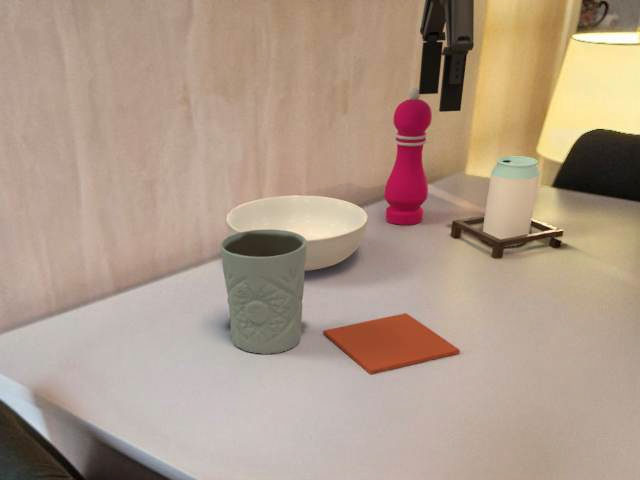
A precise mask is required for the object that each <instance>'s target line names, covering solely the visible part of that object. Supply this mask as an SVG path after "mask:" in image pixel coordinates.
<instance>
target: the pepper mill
mask: <svg viewBox="0 0 640 480" xmlns="http://www.w3.org/2000/svg"><path fill="white" fill-rule="evenodd" d="M420 97H421V94H419V88H418V87H414V88H411V89H410V90H409V93H408V98H409V99H406V100H404V101H402V102H400V104H398V105H397V106H396V108H395V110H394V113H393V126H394V127H395V129H396V130H397V132H396V133H395V140H394V143H395V144H396V157H395V161H394V165H393V167H392V170H391V172H390V173H389V174H390V175H389V176H388V179H387V180H386V184H385V188H384V193H383V195H384V199H385V201H386V203H387V204H388V206H387V207H386V209H385V221H386V222H388V223H390V224H393V225H396V226H397V225H398V226H411V225H416V224H419V223H421V222H422V221H423V218H424V217H423V216H424V208H423V207H422V205H423V204H424V203H425V202H426V200H427V199H428V196H429V185H428V179H427V177H426V173H425V169H424V165H423V163H424V162H423V150H424V145H425V144H426V143H427V137H428V134H427V133H426V131H427V130H428V128H429V127H430V126H431V124H432V119H433V112H432V108H431V106H430V105H429V104H428V102H426V101H424V100H422V99H420Z"/></svg>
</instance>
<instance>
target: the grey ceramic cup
mask: <svg viewBox="0 0 640 480" xmlns="http://www.w3.org/2000/svg"><path fill="white" fill-rule="evenodd" d="M219 249H220V258H221V262H222V269H223V278H224V281H225V282H224V283H225V288H226V293H227V304H228V310H229V311H228V312H229V316H230V331H231V340H232V343H233V342H234V343H233V345H234V344H235V345H236V346H235V345H234V346H235V347H236V348H237V347H239V348H241V349H243V350H242V351H244V350H245V351H244V352H246V351H250V352H254V353H253V354H255V353H261V354H260V355H272V354H271V353H275V354H280V353H279V352H281V353H284V352H283V351H285V352H287V350H288V351H290V350H292V349H294V348H295V347H297V345H298V344H300V341H301V338H302V319H303V298H304V291H305V290H304V289H305V272H306V271H305V261H306V249H307V241H306V239H305V238H304V237H303V236H301V235H300V234H297V233H294V232H290V231H284V230H271V229H267V230H252V231H245V232H240V233H236V234H233V235H231V236H227V237H225V238H223V240H222V241H221V242H220V244H219ZM293 347H294V348H293ZM239 348H238V349H239ZM291 348H292V349H291ZM241 349H240V350H241ZM250 352H249V353H250Z"/></svg>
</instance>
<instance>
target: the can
mask: <svg viewBox="0 0 640 480" xmlns="http://www.w3.org/2000/svg"><path fill="white" fill-rule="evenodd" d="M538 163H539V161H538V160H537V159H536V158H533V157H530V156H523V155H509V156H508V155H507V156H502V157H499V158H498V159H497V160H496V164H495V165H494V167H493V168H492V170H491V172H490V177H489V185H488V191H487V198H486V204H485V212H484V215H485V218H484V222H483V226H482V231H483V232H485V233H487V234H490V235H492V236H494V237H496V238H498V239H506V238H511V237H516V236H522V235H527V234H530V231H531V227H532V226H531V220H532V218H533V214H534V209H535V203H536V199H537V193H538V187H539V182H540V178H541V171H540V169H539V167H538ZM520 244H521V245H522V244H523V243H519V244H514V245H509V247H508V246H506V247H505V248H513V247H512V246H515V247H518V246H517V245H519V246H521V245H520ZM510 246H511V247H510Z"/></svg>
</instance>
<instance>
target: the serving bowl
mask: <svg viewBox="0 0 640 480" xmlns="http://www.w3.org/2000/svg"><path fill="white" fill-rule="evenodd" d="M368 220H369V217H368V214H367V212H366V211H365V210H364V209H363V208H362V207H360V206H358V205H356V204H355V203H352V202H349V201H347V200H343V199H339V198H334V197H328V196H319V195H281V196H272V197H271V196H270V197H264V198H259V199H255V200H250V201H247V202H245V203H241V204H239V205H238V206H236V207H234V208H232V209H231V210H230V211H229V212H228V213H227V216H226V221H225V222H226V227H227V232H228V235H229V236H231V235H233V234H236V233H240V232H245V231H252V230H267V229H271V230H284V231H290V232H294V233H297V234H300V235H301V236H303V237H304V238H305V239H306V241H307V249H306V261H305V271H304V272H306V271H307V272H308V271H316V270H321V269H325V268H328V267H331V266H334V265H337V264H339V263H341V262H343V261H344V260H346V259H347V258H349V257H350V256H352V255H353V254H354V252H355V251H356V250H357V249H358V247H359V246H360V245H361V243H362V241H363V239H364V236H365V235H366V231H367V226H368ZM229 236H228V237H229Z"/></svg>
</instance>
